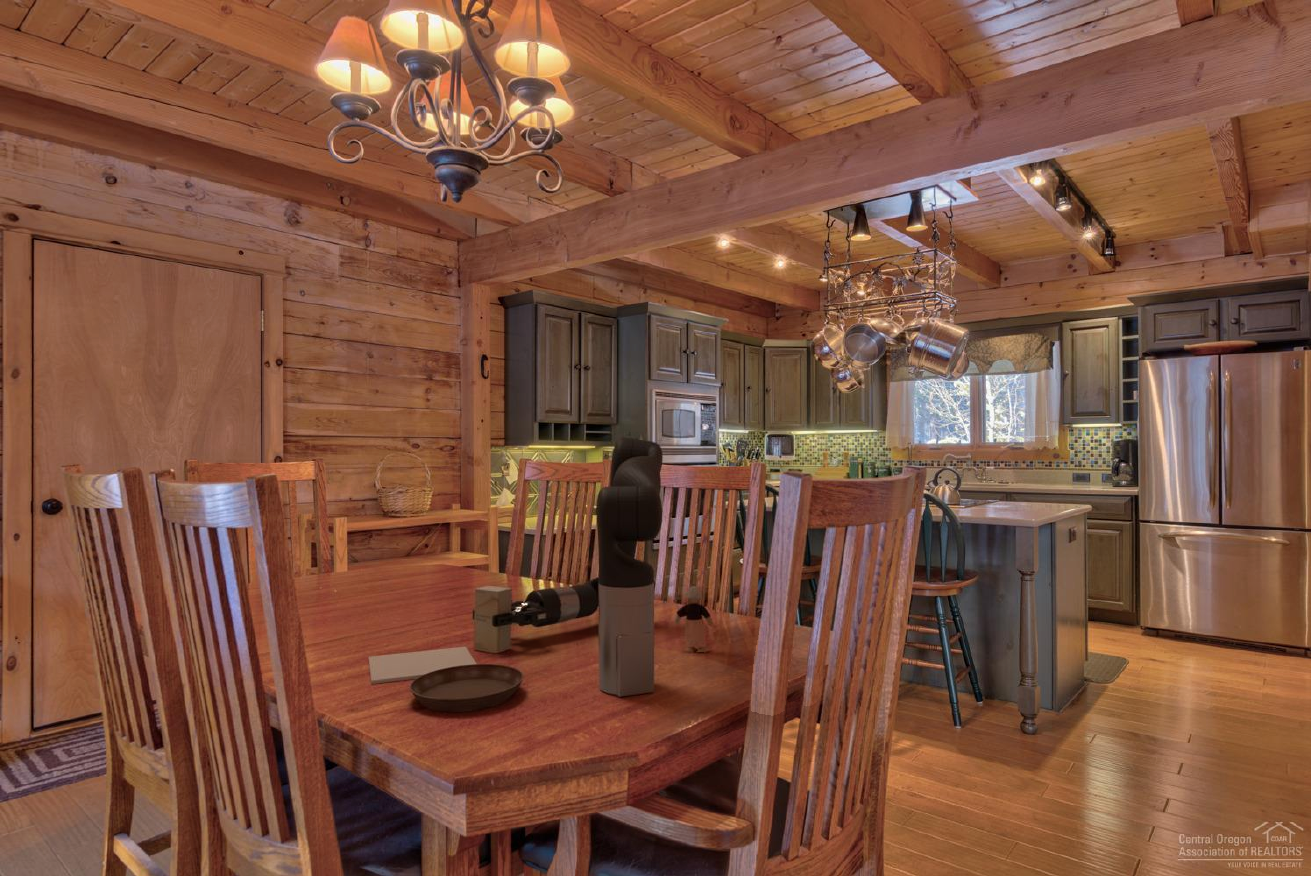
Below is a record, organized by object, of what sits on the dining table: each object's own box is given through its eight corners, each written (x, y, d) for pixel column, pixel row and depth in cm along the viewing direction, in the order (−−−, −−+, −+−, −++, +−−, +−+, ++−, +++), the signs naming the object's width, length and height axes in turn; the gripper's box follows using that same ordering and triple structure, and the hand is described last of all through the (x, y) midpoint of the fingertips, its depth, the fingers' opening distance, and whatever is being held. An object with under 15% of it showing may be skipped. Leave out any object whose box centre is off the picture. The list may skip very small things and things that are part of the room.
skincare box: (473, 650, 148) (472, 588, 148) (488, 645, 152) (487, 584, 152) (498, 654, 145) (497, 591, 145) (512, 648, 149) (512, 587, 149)
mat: (479, 671, 134) (479, 667, 134) (371, 684, 127) (371, 680, 127) (465, 649, 148) (465, 646, 148) (368, 659, 141) (368, 656, 141)
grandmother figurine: (713, 648, 148) (713, 584, 148) (713, 653, 144) (712, 587, 145) (675, 647, 149) (674, 583, 149) (673, 652, 145) (673, 587, 145)
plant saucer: (406, 722, 109) (406, 701, 109) (412, 686, 126) (412, 668, 126) (528, 711, 114) (528, 691, 114) (518, 677, 131) (518, 659, 131)
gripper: (533, 583, 164) (465, 593, 152) (572, 592, 153) (502, 604, 142) (533, 618, 163) (465, 630, 152) (572, 629, 153) (502, 644, 142)
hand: (483, 618), depth 147 cm, fingers closed on skincare box, 7 cm apart
